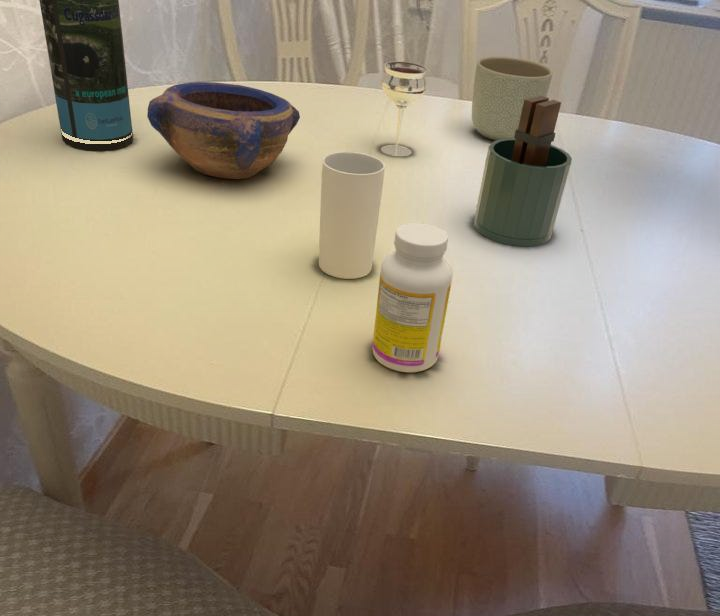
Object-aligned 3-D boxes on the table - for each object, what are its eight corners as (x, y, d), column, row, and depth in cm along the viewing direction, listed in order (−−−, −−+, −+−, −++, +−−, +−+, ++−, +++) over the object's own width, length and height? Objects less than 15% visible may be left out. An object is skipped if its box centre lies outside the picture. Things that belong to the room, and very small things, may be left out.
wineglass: (366, 147, 120) (373, 63, 112) (396, 140, 124) (406, 59, 116) (395, 161, 116) (405, 76, 108) (426, 154, 120) (438, 71, 112)
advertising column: (93, 121, 117) (60, -124, 97) (153, 138, 114) (131, -112, 94) (41, 140, 110) (-8, -123, 90) (103, 158, 106) (67, -109, 86)
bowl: (313, 164, 112) (317, 91, 106) (251, 203, 100) (250, 123, 93) (210, 137, 117) (208, 66, 110) (138, 171, 104) (130, 93, 98)
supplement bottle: (406, 332, 79) (424, 212, 70) (450, 362, 75) (475, 239, 67) (357, 350, 75) (369, 226, 67) (401, 383, 72) (420, 256, 63)
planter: (520, 154, 124) (536, 82, 117) (453, 135, 128) (464, 64, 121) (546, 136, 132) (563, 68, 125) (483, 119, 137) (495, 52, 129)
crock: (542, 216, 105) (561, 142, 99) (558, 249, 98) (580, 171, 91) (468, 210, 105) (483, 135, 98) (479, 243, 97) (496, 164, 90)
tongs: (512, 213, 103) (540, 94, 93) (534, 223, 101) (564, 102, 91) (494, 220, 100) (521, 99, 90) (516, 230, 99) (545, 107, 89)
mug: (360, 286, 85) (370, 179, 77) (306, 271, 87) (311, 164, 79) (392, 252, 92) (404, 152, 84) (342, 239, 94) (349, 139, 86)
